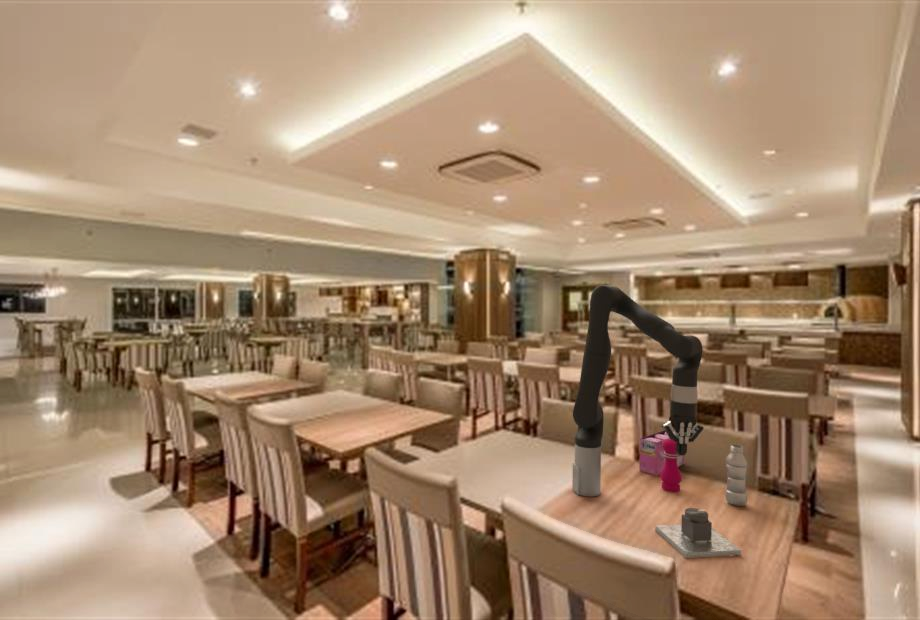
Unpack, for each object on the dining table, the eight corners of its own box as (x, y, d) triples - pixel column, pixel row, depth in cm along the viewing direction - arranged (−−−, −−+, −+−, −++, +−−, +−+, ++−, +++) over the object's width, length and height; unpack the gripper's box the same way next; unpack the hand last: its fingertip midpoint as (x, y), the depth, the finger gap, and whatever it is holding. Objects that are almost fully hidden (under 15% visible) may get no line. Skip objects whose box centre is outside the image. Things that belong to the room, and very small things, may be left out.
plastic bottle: (739, 509, 160) (740, 450, 159) (720, 502, 166) (721, 444, 165) (751, 506, 163) (752, 447, 162) (732, 499, 169) (733, 442, 168)
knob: (692, 541, 134) (692, 515, 134) (680, 531, 140) (680, 506, 140) (712, 540, 135) (712, 514, 135) (699, 530, 141) (700, 505, 141)
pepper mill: (683, 493, 173) (684, 438, 173) (662, 491, 175) (663, 437, 174) (678, 486, 180) (679, 433, 180) (658, 484, 182) (659, 432, 181)
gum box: (668, 459, 212) (668, 428, 212) (685, 464, 206) (686, 432, 206) (638, 470, 197) (639, 437, 197) (656, 476, 191) (657, 442, 191)
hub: (685, 558, 129) (686, 536, 129) (655, 530, 145) (655, 510, 145) (741, 555, 130) (741, 533, 130) (705, 528, 146) (705, 508, 146)
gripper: (669, 401, 145) (666, 458, 145) (711, 402, 146) (708, 459, 146) (657, 396, 152) (654, 450, 153) (697, 397, 153) (694, 451, 154)
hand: (681, 454), depth 149 cm, fingers closed
